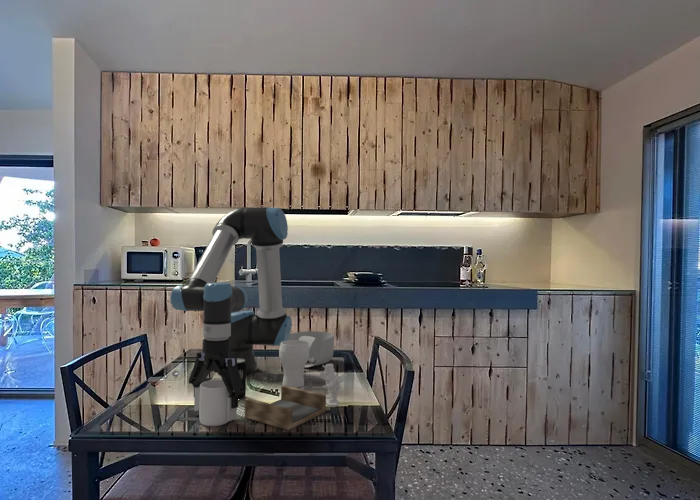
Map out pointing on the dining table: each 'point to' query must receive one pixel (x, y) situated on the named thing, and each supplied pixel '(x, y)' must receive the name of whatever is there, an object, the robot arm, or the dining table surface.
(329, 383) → the figurine
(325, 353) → the bowl
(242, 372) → the beverage can
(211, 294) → the robot arm
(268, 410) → the wooden tray
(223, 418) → the mug
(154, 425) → the dining table surface
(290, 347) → the cup
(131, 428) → the dining table surface
